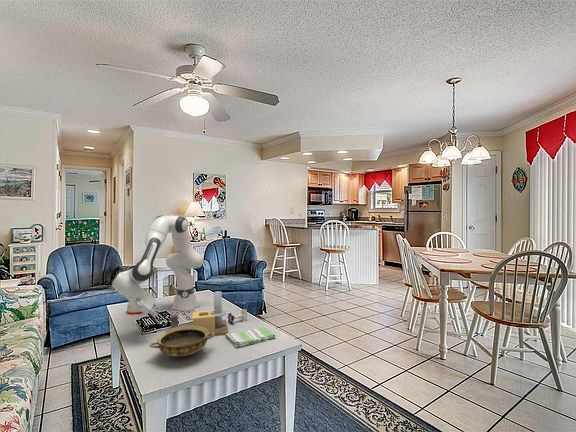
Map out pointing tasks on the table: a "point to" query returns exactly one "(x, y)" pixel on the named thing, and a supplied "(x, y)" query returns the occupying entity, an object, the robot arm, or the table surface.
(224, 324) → the base board
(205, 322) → the square hole block
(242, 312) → the valve
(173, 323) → the square peg
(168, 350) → the ceramic bowl
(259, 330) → the dish towel
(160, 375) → the table surface
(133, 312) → the kitchen timer
